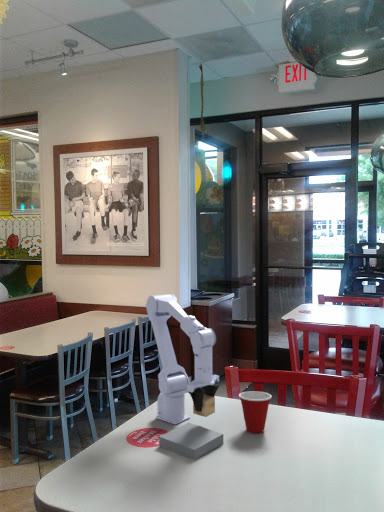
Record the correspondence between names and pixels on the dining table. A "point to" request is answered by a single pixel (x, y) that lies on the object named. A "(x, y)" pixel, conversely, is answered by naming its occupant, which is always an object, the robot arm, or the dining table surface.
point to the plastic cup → (255, 410)
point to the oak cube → (206, 406)
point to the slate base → (191, 440)
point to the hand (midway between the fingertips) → (203, 408)
